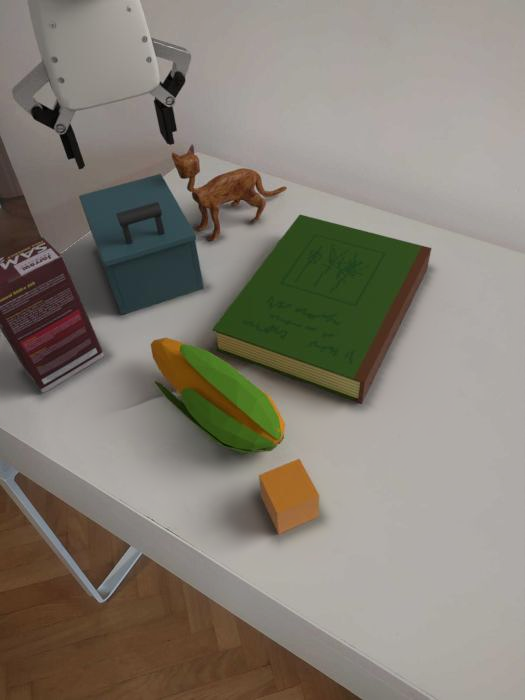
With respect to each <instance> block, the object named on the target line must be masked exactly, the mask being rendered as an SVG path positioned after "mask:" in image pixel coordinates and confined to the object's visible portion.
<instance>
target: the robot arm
mask: <svg viewBox="0 0 525 700" xmlns="http://www.w3.org/2000/svg"><path fill="white" fill-rule="evenodd" d="M27 7H28V12H29V16H30V21H31V25H32V29H33V33H34V37H35V40H36V44H37V47H38V51H39V54H40V58H41V61H40V62H38V64H37V65H36V66H35V67H34V68H32V69H31V71H29V73H27V74H26V75H25V76H24V77H23V78H22V79H21V80H20V81H19V82H17V84H15V85H14V86H13V87H12V88H11V94H12V97H13V100H14V101H15V102H16V104H17V105H19V107H20V108H22V109H23V110H25V112H27V113H28V114H29V115H30V116H31V117H32V119H33V120H35V121H36V122H38V123H40V124H42V125H44V126H45V127H48V128H49V129H51V130H54V132H55V133H56V134H57V135H59V138H60V142H61V145H62V147H63V151H64V153H65V156H66V158H67V160H68V161H69V160H73V159H74V161H75V162H76V165H77V169H78V170H82V169H85V167H86V164H85V161H84V158H83V155H82V151H81V149H80V146H79V143H78V140H77V137H76V133H75V131H74V129H73V126H72V124H71V122H72V120H73V119H74V115H75V114H76V112H78V111H83V110H88V109H92V108H97V107H100V106H105V105H108V104H109V105H110V104H113V103H117V102H121V101H124V100H127V99H128V100H129V99H133V98H136V97H140V96H144V95H148V94H150V95H152V97H154V99H153V105H154V109H155V115H156V118H157V124H158V127H159V128H158V129H159V132H160V133H159V134H160V135H161V137H162V138H163V140H164V141H165V143H166V145H169V146H172V145H175V139H174V134H173V133H175V132H177V131H178V127H177V122H176V117H175V112H174V106H175V104H176V98H177V97H178V95H179V93H180V92H181V90H182V89H183V87H184V86H185V84H186V77H187V76H186V75H187V74H188V71H189V67H190V64H191V60H192V54H191V53H190V52H189V50H188V49H187V48H185V47H182V46H179V45H177V44H173V43H170V42H167V41H163V40H160V39H157V38H154V37H151V34H150V33H151V32H150V30H149V26H148V23H147V18H146V15H145V11H144V9H143V6H142V3H141V0H27ZM157 58H160V59H164V60H167V61H170V62H172V65H171V67H172V68H171V69H170V71H169V72H168V74H167V76H166V77H165V79H164V81H163V82H162V81H161V77H160V68H159V64H158V60H157ZM48 83H49V86H50V88H51V90H52V92H53V94H54V96H55V98H56V99H55V102H54V104H53V106H52V108H50V107H48V106H46V105H44V104H42V103H41V102H39V101H38V100H37V99H36V98H35V97H34V96H35V95H36V94H37V93H38V92H39V91H40V90H41V89H42V88H43V87H44V86H46V84H48Z"/></svg>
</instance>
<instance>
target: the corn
mask: <svg viewBox="0 0 525 700" xmlns="http://www.w3.org/2000/svg"><path fill="white" fill-rule="evenodd" d="M150 348H151V354H152V359H153V360H154V362H155V365H156V366H157V367H158V370H159V371H160V374H161V375H163V377H164V378H165V379H166V380H167V381H168V383H170V385H171V386H172V387H173V389H175V391H176V392H177V393H178V394H179V395H180V396H181V400H182V401H181V400H180V399H179V398H178V397H177V396H176V395H175V394H174V393H173V392H172V391H171V390H169V388H167V387H166V386H165V385H164V384H162V383H161V382H159V381H156V380H153V382H154V384H155V385H156V386H157V388H158V389H159V390H160V392H161V393H162V394H163V396H164V397H165V398H166V399H167V400H168V401H169V402H170V403H171V404H172V405H173V406H175V407H176V408H177V409H178V410H179V411H180V412H181V413H182V414H183V415H184V416H185V417H187V418H188V419H189V421H191V422H192V423H193V424H194V425H195V426H196V427H197V428H198V429H199V430H201V431H202V432H203V433H204V434H205V435H206V436H207V437H208V438H209V439H210V440H212V442H214V443H215V444H218V445H219V446H221V447H223V448H226V449H229V450H232V451H235V452H238V453H240V454H241V453H242V454H253V453H263V452H264V453H266V452H272V451H273V450H274V449H275V448H277V446H278V445H280V444H281V443H282V442H283V440H284V438H285V437H284V436H285V435H284V434H285V427H286V423H285V421H284V419H283V417H282V415H281V413H280V411H279V409H278V407H277V405H276V403H275V401H274V399H272V397H271V396H270V394H268V393H267V392H265V391H264V390H262V389H261V388H259V386H256V385H255V384H254V383H253V382H251V381H250V380H249V379H248V378H246V376H244V375H243V374H242V373H241V372H239V370H236V368H234V367H233V366H232V365H231V364H230V363H229V362H227V361H225V360H223V359H221V358H220V357H218V356H217V355H215V354H214V353H212V352H210V351H208V350H206V349H203V348H201V347H198V346H196V345H192V344H187V343H185V342H182V341H179V340H175V339H173V338H169V337H164V338H157V339H154V340H152V342H151V343H150Z"/></svg>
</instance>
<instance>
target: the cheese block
mask: <svg viewBox="0 0 525 700" xmlns="http://www.w3.org/2000/svg"><path fill="white" fill-rule="evenodd" d="M258 480H259V488H260V497H261V500H262V502H263V504H264V507H265V509H266V510H267V513H268V515H269V517H270V519H271V521H272V524H273V526H274V528H275V530H276V532H277V534H278V535H280V534H283V533H284V532H287V531H289V530H291V529H294V528H296V527H298V526H301V525H303V524H306V523H308V522H310V521H312V520H314V519H317V518H319V516H320V515H319V513H320V512H319V510H320V493H319V492H318V490H317V489H316V486H315V484H314V483H313V481H312V479H311V478H310V476H309V474H308V472H307V470H306V468H305V466H304V464H303V462H302V461H301V459H300V458H298V459H295V460H292V461H289V462H288V463H285V464H282V465H280V466H277V467H275V468H273V469H270V470H268V471H266V472H263V473H261V474H258Z"/></svg>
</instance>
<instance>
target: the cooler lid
mask: <svg viewBox="0 0 525 700" xmlns="http://www.w3.org/2000/svg"><path fill="white" fill-rule="evenodd" d="M78 197H79V200H80V204H81V203H82V204H81V207H82V206H83V207H82V209H84V210H83V212H84V215H85V214H86V215H85V218H86V217H87V218H86V221H87V220H88V221H87V223H88V222H89V224H88V226H89V225H90V227H89V229H90V228H91V230H92V233H93V236H94V239H95V241H96V244H97V247H98V249H99V252H100V255H101V257H102V260H103V263H104V265H105V267H107V266H110V265H114V264H117V263H120V262H123V261H127V260H130V259H133V258H137V257H140V256H143V255H147V254H150V253H153V252H157V251H160V250H163V249H167V248H170V247H173V246H177V245H180V244H183V243H187V242H190V241H193V240H195V241H196V240H197V235H196V232H195V231H194V229H193V227H192V226H191V224H190V222H189V220H188V218H187V217H186V215H185V214H184V212H183V210H182V209H181V206H180V205H179V203H178V201H177V199H176V197H175V196H174V194H173V192H172V191H171V189H170V187H169V185H168V184H167V182H166V181H165V178H164V177H163V175H162V173H157V174H154V175H151V176H146V177H142V178H140V179H139V178H138V179H136V180H132V181H129V182H124V183H120V184H117V185H114V186H110V187H106V188H103V189H98V190H95V191H91V192H87V193H84V194H81V195H78ZM91 230H90V231H91ZM92 233H91V234H92ZM93 236H92V237H93ZM94 239H93V240H94ZM96 244H95V245H96ZM97 247H96V248H97Z"/></svg>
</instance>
